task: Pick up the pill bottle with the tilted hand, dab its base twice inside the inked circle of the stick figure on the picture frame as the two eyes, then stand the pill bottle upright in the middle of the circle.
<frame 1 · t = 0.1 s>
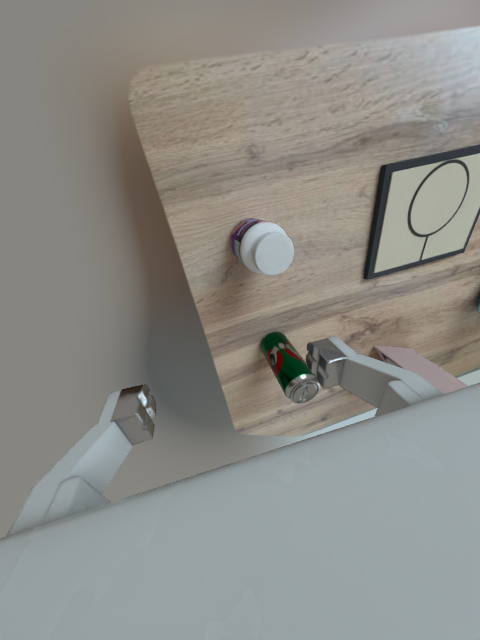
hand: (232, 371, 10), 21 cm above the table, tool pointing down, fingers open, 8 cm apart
greeting card: (391, 349, 48), on the table
pill bottle: (247, 239, 28), on the table
soda can: (272, 341, 38), on the table
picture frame: (426, 215, 32), on the table
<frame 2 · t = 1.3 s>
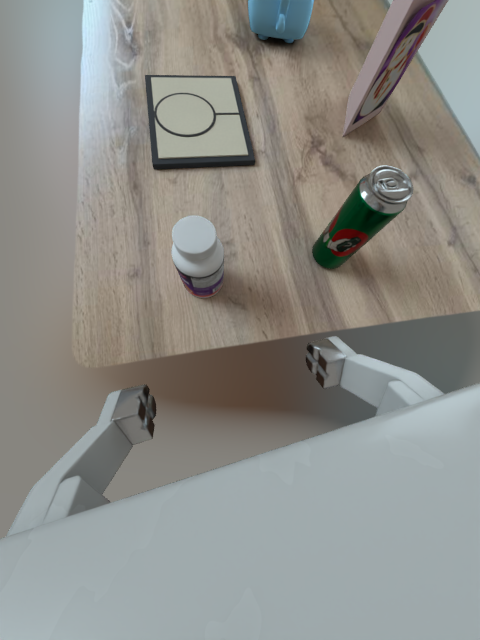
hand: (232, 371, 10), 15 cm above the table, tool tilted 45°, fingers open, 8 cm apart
greeting card: (350, 116, 39), on the table
teapot: (274, 27, 44), on the table
pill bottle: (203, 281, 28), on the table
soda can: (326, 256, 31), on the table
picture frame: (198, 121, 35), on the table
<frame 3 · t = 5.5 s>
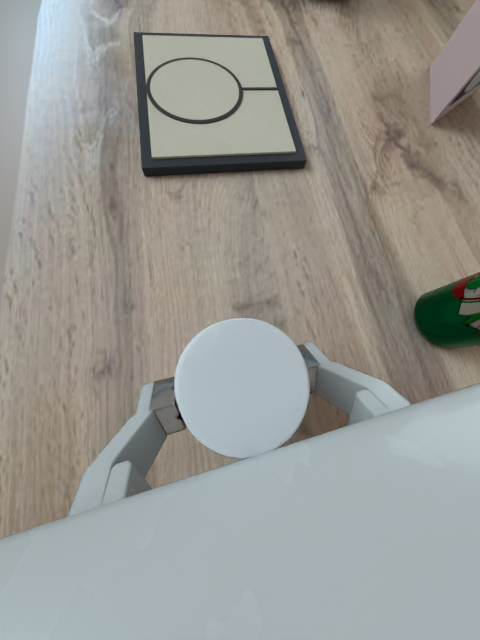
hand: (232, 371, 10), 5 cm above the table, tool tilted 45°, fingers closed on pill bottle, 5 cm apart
greeting card: (435, 95, 26), on the table
pill bottle: (230, 376, 15), on the table, touching gripper
soda can: (433, 321, 18), on the table
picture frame: (214, 101, 23), on the table
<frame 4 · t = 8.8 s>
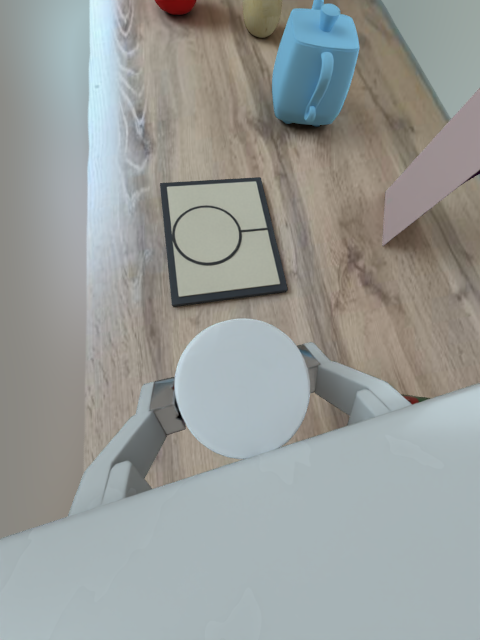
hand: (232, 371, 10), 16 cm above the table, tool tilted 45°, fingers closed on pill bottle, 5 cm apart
greeting card: (388, 217, 35), on the table
teapot: (299, 106, 40), on the table
pill bottle: (230, 376, 15), point 11 cm above the table, touching gripper
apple: (259, 33, 44), on the table
tomato: (176, 12, 44), on the table
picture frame: (221, 237, 31), on the table
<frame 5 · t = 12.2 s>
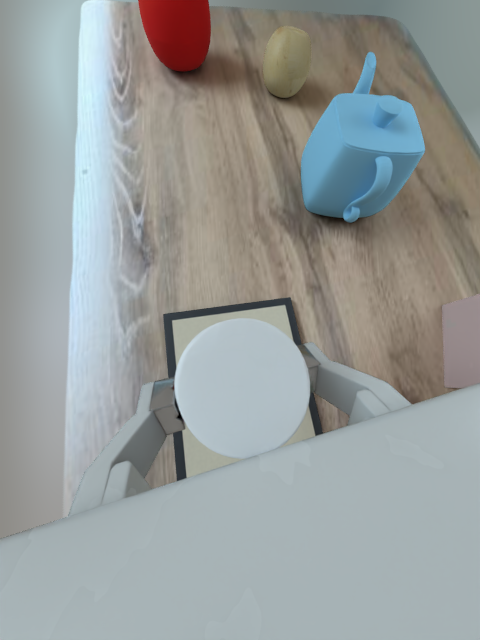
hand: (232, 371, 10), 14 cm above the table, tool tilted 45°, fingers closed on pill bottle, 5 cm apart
greeting card: (448, 341, 28), on the table
teapot: (332, 188, 33), on the table
pill bottle: (230, 376, 15), point 9 cm above the table, touching gripper
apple: (280, 91, 38), on the table
tomato: (182, 66, 37), on the table
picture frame: (242, 388, 24), on the table
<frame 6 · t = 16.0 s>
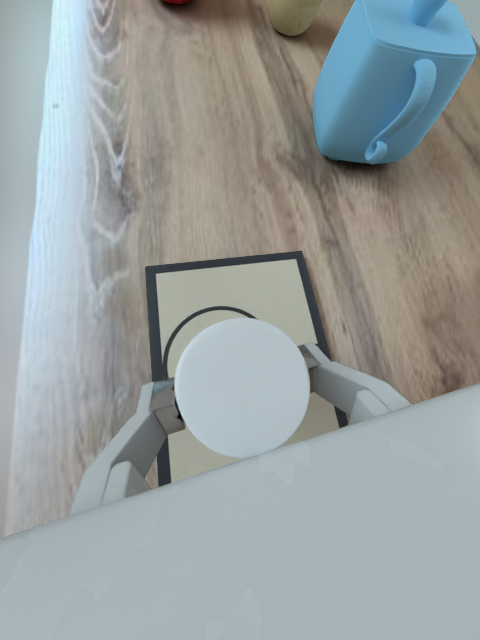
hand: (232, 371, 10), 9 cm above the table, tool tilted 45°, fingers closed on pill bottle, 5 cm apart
teapot: (348, 134, 28), on the table
pill bottle: (230, 376, 15), point 3 cm above the table, touching gripper
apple: (287, 30, 33), on the table
tomato: (175, 0, 32), on the table
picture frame: (243, 357, 19), on the table
when the fingers open (6 cm above the table, at t = 19.3 s): pill bottle stays where it is, resting on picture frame.
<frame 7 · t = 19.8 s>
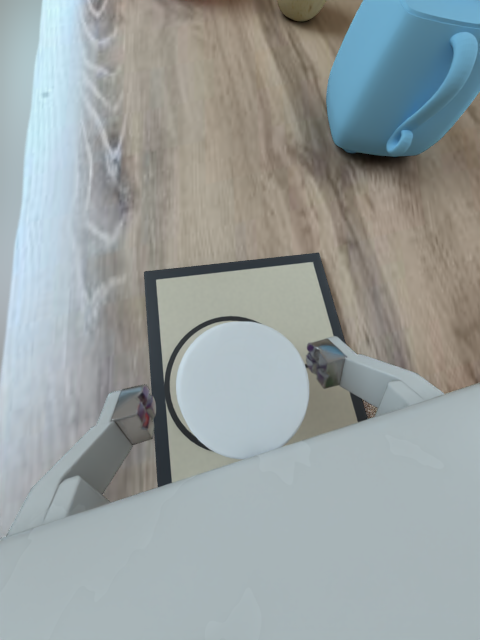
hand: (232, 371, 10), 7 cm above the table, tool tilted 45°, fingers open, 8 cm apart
teapot: (364, 125, 26), on the table
pill bottle: (231, 377, 16), point 1 cm above the table, touching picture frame
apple: (296, 16, 30), on the table
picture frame: (255, 374, 17), on the table
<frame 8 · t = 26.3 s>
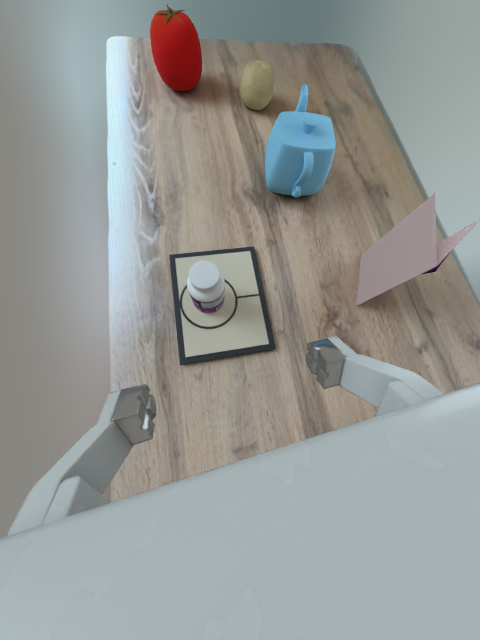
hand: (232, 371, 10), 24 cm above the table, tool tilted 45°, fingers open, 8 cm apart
greeting card: (363, 278, 41), on the table
teapot: (288, 176, 46), on the table
pill bottle: (208, 300, 36), point 1 cm above the table, touching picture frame
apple: (254, 105, 51), on the table
tomato: (182, 87, 50), on the table
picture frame: (220, 301, 37), on the table
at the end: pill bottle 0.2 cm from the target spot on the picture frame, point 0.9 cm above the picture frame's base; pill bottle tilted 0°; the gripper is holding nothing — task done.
